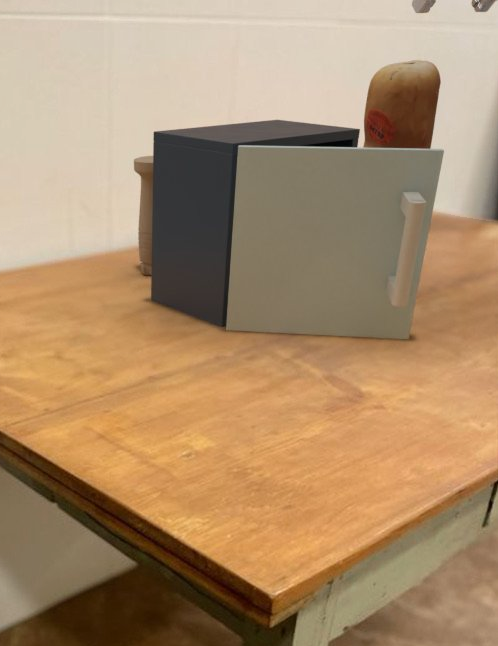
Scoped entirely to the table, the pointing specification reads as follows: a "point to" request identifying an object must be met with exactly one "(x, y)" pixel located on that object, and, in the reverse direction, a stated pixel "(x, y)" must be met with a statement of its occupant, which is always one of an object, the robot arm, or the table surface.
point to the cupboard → (209, 206)
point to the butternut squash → (402, 106)
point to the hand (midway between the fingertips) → (448, 8)
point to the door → (330, 239)
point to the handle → (145, 212)
